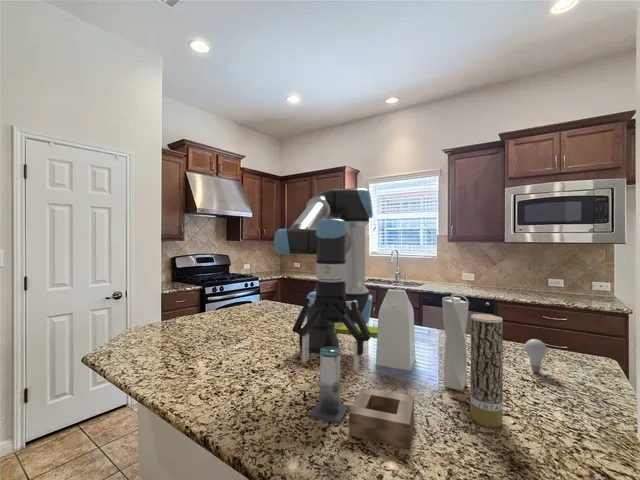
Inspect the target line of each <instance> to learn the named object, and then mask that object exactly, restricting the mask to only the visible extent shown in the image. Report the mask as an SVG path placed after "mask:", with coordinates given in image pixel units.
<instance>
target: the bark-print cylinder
mask: <svg viewBox="0 0 640 480" xmlns="http://www.w3.org/2000/svg"><path fill="white" fill-rule="evenodd" d="M503 323H504V322H503V317H500V316H497V315H494V314H493V315H492V314H488V313H487V314H486V313H484V314H483V313H473V314H471V315H470V417H471V419H472V420H473V422H475V423H476V424H478V425H479V426H482V427H485V428H492V429H494V428H500V427H501V426H502V425H503V406H504V405H503V402H504V401H503V400H504V399H503V397H504V396H503V391H504V389H503V387H504V386H503V381H504V380H503V378H504V377H503V372H504V370H503V369H504V368H503V360H504V359H503V348H504V347H503V344H504V343H503V341H504V339H503V335H504V334H503V329H504V328H503Z"/></svg>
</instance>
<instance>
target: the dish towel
mask: <svg viewBox="0 0 640 480" xmlns="http://www.w3.org/2000/svg"><path fill="white" fill-rule="evenodd" d="M354 325H355V326H356V327H357V329H358V330H359V331H360V329H359V327H358V325H356V324H354ZM366 326H367V328H368V330H369V332H370V334H371V338H376V339H377V332H378V326H368V325H366ZM335 331H336V334H343V335H352V334H351V333H350V331H349V330H348V329H347V327H346V326H345V325H344V323H335ZM360 332H361V331H360ZM361 334H362V333H361ZM352 336H353V335H352Z"/></svg>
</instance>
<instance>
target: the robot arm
mask: <svg viewBox="0 0 640 480" xmlns="http://www.w3.org/2000/svg"><path fill="white" fill-rule="evenodd" d="M373 216H374V215H373V204H372V198H371V193H370V191H369V189H367V188H362V187H354V188H352V187H351V188H330V189H327V190H323V191H320V192H318V193H317V194H315V195H314V196H312V197H311V198H310V199H309V200H308V202H307V203H306V205H305V209H304V210H303V212H302V213H301V214H300V215H299V216H298V217H297V219H296V220H295V221H294V223H292V225H291V226H290V228H278V229H277V230H276V231H275V234H274V238H273V243H274V248H275V251H276V253H278V254H280V255H288V256H291V255H312V256H313V255H315V257H316V261H315V262H316V264H315V267H316V269H315V277H316V279H317V280H316V282H315V290H314V291H311V292H309V293H308V294H307V296H306V297H305V298H304V299H303V307H302V308H301V311H300V312H299V314H298V316H297V319H296V321H295V323H294V325H293V327H292V330H291V331H292V332H293V333H295V334H298V337H299V339H298V340H299V341H298V346H299V348H301V350H302V351H301V356H302V357H301V362H302V363H306V362H307V361H308V360H309V359H310V353H314V354H320V349H321V348H323V347H336V348H339V349H340V342H339V338H338V335H337V334H338V333H336V331H335V323H342V324H344V325H345V326H346V327H347V329H348V330H349V331H350V333H351V334H352V337H353V338H354V339H355V341H354V342H353V370H354V371H357V370H358V369H359V367H360V356H363V354H364V342H368V341H370V339H371V338H372V337H371V334H370V332H369V330H368V328H367V326H368V325H367V324H368V323H369V322H370V318H371V312H372V311H371V310H372V305H373V295H371V294H370V290H369V289H368V288H367V287H366V227H367V225H368V224H369V223H370V219H371V218H373ZM305 320H306V323H305V324H304V321H305ZM303 324H304V325H303ZM302 325H303V326H302ZM355 325H358V327H359V329H360V331H361V332H360V331H359V330H358V329H357V327H356V326H355ZM361 333H362V334H361ZM351 334H350V335H351Z"/></svg>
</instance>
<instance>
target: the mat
mask: <svg viewBox="0 0 640 480" xmlns="http://www.w3.org/2000/svg"><path fill="white" fill-rule="evenodd" d="M349 408H350V404H346V403H345V404H344V403H340V411H339V412H338V413H337V414H335V415H326V414H323V413H321V412H320V400H318V402H317V403H316V404H315V406H314V407H313V408H312V410H311V411H310V413H309V414H308V417H309V418H312V419H316V420H322V421H326V422H328V423H335V424H340V425H341V423H342V421H343V420H344V418H345V417H346V414H347V413H348V412H349V411H348V410H349Z"/></svg>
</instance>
